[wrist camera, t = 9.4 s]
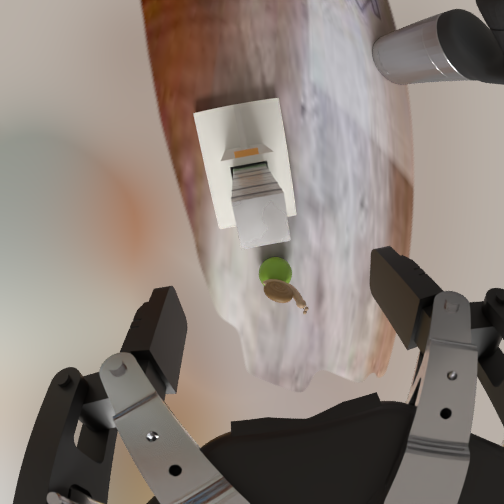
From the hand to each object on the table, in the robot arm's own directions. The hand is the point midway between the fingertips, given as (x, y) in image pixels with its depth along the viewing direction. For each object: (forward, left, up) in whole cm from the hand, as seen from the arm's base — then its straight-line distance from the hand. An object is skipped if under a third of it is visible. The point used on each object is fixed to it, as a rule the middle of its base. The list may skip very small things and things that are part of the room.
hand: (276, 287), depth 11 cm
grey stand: (0, 0, -33) cm, 33 cm away
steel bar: (0, 0, -24) cm, 24 cm away
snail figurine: (+4, +18, -33) cm, 38 cm away
